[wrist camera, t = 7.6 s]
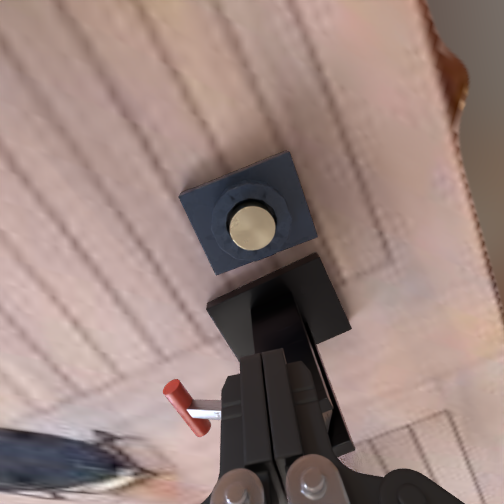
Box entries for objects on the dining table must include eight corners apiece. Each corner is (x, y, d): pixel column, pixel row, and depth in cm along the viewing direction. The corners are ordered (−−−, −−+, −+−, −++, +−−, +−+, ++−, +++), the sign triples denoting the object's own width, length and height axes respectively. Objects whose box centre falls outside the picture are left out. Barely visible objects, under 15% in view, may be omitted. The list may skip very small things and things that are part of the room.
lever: (203, 416, 31) (189, 440, 29) (172, 374, 29) (156, 398, 27) (341, 426, 24) (334, 459, 22) (312, 372, 22) (302, 404, 20)
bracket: (246, 366, 37) (255, 511, 23) (206, 302, 34) (189, 427, 20) (348, 322, 36) (420, 448, 22) (316, 251, 33) (377, 347, 19)
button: (239, 249, 29) (239, 256, 27) (223, 210, 27) (222, 216, 26) (279, 233, 28) (281, 240, 27) (264, 194, 27) (266, 199, 26)
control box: (216, 269, 33) (214, 285, 29) (180, 192, 30) (174, 201, 27) (314, 232, 32) (323, 244, 29) (287, 149, 29) (293, 153, 26)
